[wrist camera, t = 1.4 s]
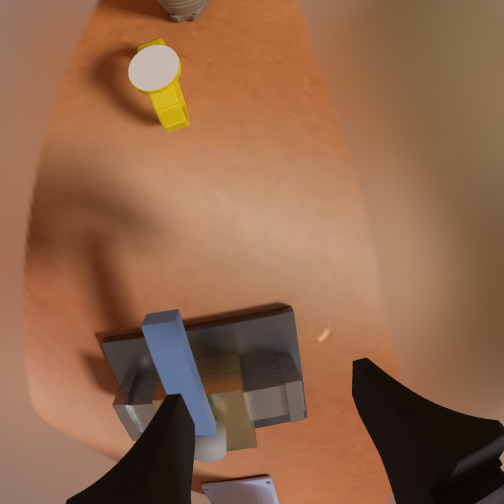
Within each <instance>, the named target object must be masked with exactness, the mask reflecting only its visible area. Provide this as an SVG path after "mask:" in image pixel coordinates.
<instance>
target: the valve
mask: <svg viewBox="0 0 504 504" xmlns="http://www.w3.org/2000/svg"><path fill="white" fill-rule="evenodd" d="M184 329H185V332H186V335H187V339H188V342H189V345H190V348H191V352H192V355H193V358H194V361H195V364H196V367H197V370H198V373H199V376H200V379H201V382H202V385H203V388H204V391H205V394H206V396H207V399H208V402H209V405H210V408H211V410H212V413H213V416H214V419H216V420H218V421H220V422H221V423H223V425H224V426H225V428H226V451H234V450H241V449H248V448H254V447H257V440H256V432H255V428H259V427H264V426H270V425H275V424H280V423H285V422H290V421H291V422H296V421H300V420H304V418H307V412H306V403H305V395H304V386H303V378H302V370H301V362H300V355H299V347H298V340H297V332H296V325H295V318H294V311H293V309H292V307H291V306H289V307H284V308H280V309H275V310H270V311H265V312H260V313H255V314H250V315H244V316H239V317H234V318H228V319H223V320H217V321H211V322H206V323H200V324H194V325H188V326H184ZM101 345H102V347H103V350H104V352H105V354H106V357H107V359H108V361H109V364H110V366H111V368H112V370H113V373H114V375H115V377H116V379H117V381H118V383H119V386H120V388H119V390H118V393H117V395H116V397H115V400H114V402H113V404H112V406H113V408H114V409H115V411H116V413H117V415H118V417H119V418H120V420H121V422H122V424H123V425H124V427H125V429H126V431H127V432H128V434H129V436H130V437H131V439H132V441H137V440H138V439H139V437H140V436H141V435H142V433H143V432H144V430H145V429H146V427H147V426H148V424H149V423H150V421H151V420H152V418H153V417H154V415H155V413H156V412H157V410H158V409H159V407H160V405H161V404H162V402H163V400H164V399H165V397H166V396H167V393H166V391H165V388H164V386H163V384H162V381H161V379H160V376H159V374H158V371H157V369H156V366H155V363H154V361H153V358H152V356H151V353H150V350H149V348H148V345H147V342H146V339H145V336H144V334H143V332H142V333H134V334H127V335H119V336H111V337H105V338H104V339H103V341H102V342H101Z"/></svg>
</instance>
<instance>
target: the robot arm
mask: <svg viewBox="0 0 504 504" xmlns="http://www.w3.org/2000/svg"><path fill="white" fill-rule="evenodd" d="M352 396H353V399H354V402H355V405H356V407H357V410H358V413H359V415H360V417H361V419H362V421H363V423H364V425H365V427H366V429H367V431H368V433H369V434H370V436H371V438H372V440H373V442H374V444H375V446H376V448H377V450H378V452H379V454H380V456H381V459H382V461H383V464H384V467H385V470H386V473H387V475H388V479H389V482H390V485H391V488H392V491H393V494H394V497H395V501H396V504H504V471H502V470H501V468H500V467H501V466H502V462H501V461H500V459H499V457H500V456H501V454H502V453H503V451H504V426H503V425H502V424H501V423H500V422H499V421H498V420H491V419H484V418H479V417H474V416H470V415H465V414H463V413H459V412H456V411H453V410H450V409H448V408H445V407H442V406H440V405H437V404H435V403H433V402H431V401H429V400H427V399H425V398H423V397H421V396H420V395H418V394H416V393H414V392H413V391H411V390H410V389H408V388H407V387H405V386H404V385H402V384H401V383H399V382H398V381H396V380H395V379H394V378H392V377H391V376H389V375H388V374H387V373H386V372H384V371H383V370H382V369H380V368H379V367H378V366H377V365H375V364H374V363H373V362H372V361H370V360H369V359H368V358H363V359H359V360H355V361H353V376H352ZM194 453H195V423H194V421H193V419H192V417H191V415H190V413H189V410H188V408H187V406H186V404H185V401H184V399H183V397H182V395H181V393H179V394H169V395H167V396H166V397H165V399H164V400H163V402H162V404H161V405H160V407H159V409H158V410H157V412H156V413H155V415H154V417H153V418H152V420H151V421H150V423H149V424H148V426H147V427H146V429H145V430H144V432H143V433H142V435H141V436H140V437H139V439H138V440H137V441H136V443H135V444H134V445H133V447H132V448H131V449H130V450H129V451H128V453H127V454H126V455H125V456H124V457H123V458H122V459H121V460H120V461H119V462H118V463H117V464H116V465H115V466H114V467H113V468H112V469H111V470H110V471H109V472H107V473H106V474H105V475H104V476H103V477H102V478H100V479H99V480H98V481H96V482H95V483H94V484H92V485H91V486H89V487H88V488H86V489H85V490H83V491H81V492H80V493H78V494H76V495H75V496H73V497H71V498H70V499H68V500H67V501H66V504H191V482H192V472H193V463H194ZM202 489H203V490H204V492H205V494H206V495H207V497H208V498H209V500H210V502H211V503H212V504H279V501H278V497H277V494H276V490H275V487H274V483H273V480H272V477H271V476H264V477H257V478H250V479H243V480H235V481H226V482H215V483H204V484H202Z"/></svg>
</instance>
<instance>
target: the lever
mask: <svg viewBox="0 0 504 504" xmlns="http://www.w3.org/2000/svg"><path fill="white" fill-rule="evenodd" d="M141 328H142V331H143V334H144V336H145V339H146V342H147V345H148V348H149V350H150V353H151V356H152V358H153V361H154V363H155V366H156V369H157V371H158V374H159V376H160V379H161V381H162V384H163V386H164V388H165V391H166V393H167V395H169V394H179V393H181V395H182V397H183V399H184V401H185V404H186V406H187V408H188V410H189V413H190V415H191V417H192V419H193V421H194V423H195V453H194V459H195V460H197V461H201V462H215V461H219V460H221V459H222V458H224V457H225V455H226V452H227V451H226V428H225V426H224V425H223V423H221V422H220V421H218V420H216V419H214V416H213V413H212V410H211V408H210V405H209V402H208V399H207V396H206V394H205V391H204V388H203V385H202V382H201V379H200V376H199V373H198V370H197V367H196V364H195V361H194V358H193V355H192V352H191V348H190V345H189V342H188V339H187V335H186V332H185V329H184V325H183V322H182V319H181V315H180V312H179V309H176V310H170V311H164V312H158V313H151V314H147V315H146V317H145V319H144V321H143V323H142V325H141Z"/></svg>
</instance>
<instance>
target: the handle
mask: <svg viewBox="0 0 504 504" xmlns="http://www.w3.org/2000/svg"><path fill="white" fill-rule="evenodd" d="M157 1H158V2H159V4H160V5H161V6H162V7H163V9H164V10H165V11H166V12H169V13H170V15H171V17H172V19H173V20H174V21H175V22H182V21H185V20H192V21H195V20H197V19H199V18H200V14H201V13H202V11H203V10H204V9H206V8H208V6H209V3H210V0H157Z"/></svg>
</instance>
